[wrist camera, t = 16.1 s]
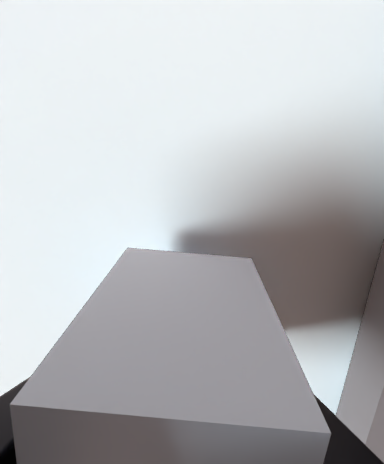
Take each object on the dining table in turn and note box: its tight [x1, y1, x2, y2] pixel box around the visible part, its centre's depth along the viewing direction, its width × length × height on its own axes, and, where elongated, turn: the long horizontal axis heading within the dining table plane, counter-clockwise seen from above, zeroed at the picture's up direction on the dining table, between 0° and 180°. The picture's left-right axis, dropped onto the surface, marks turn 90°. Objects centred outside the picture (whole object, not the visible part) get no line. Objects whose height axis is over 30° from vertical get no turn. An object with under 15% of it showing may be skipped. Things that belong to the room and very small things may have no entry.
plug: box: [10, 248, 331, 464], centre depth 7 cm, size 4×4×6 cm
